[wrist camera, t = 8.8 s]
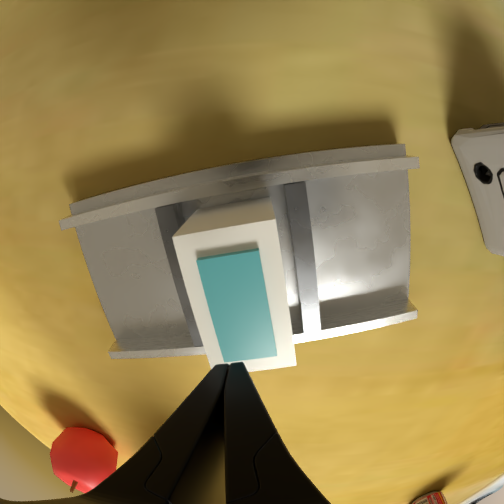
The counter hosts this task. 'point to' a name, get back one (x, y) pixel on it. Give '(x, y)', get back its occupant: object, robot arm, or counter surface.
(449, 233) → the counter surface
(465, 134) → the electrical switch
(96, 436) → the apple
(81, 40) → the counter surface
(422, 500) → the soda can
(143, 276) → the grey tray
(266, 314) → the module
